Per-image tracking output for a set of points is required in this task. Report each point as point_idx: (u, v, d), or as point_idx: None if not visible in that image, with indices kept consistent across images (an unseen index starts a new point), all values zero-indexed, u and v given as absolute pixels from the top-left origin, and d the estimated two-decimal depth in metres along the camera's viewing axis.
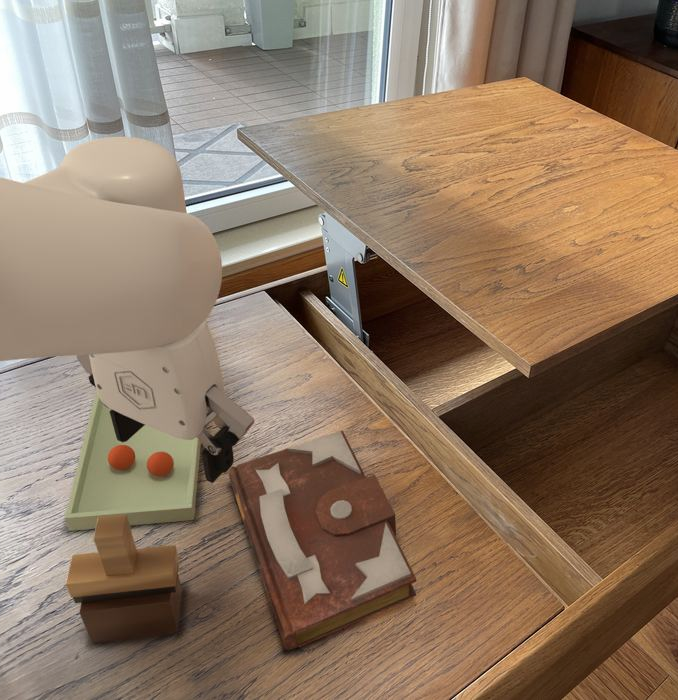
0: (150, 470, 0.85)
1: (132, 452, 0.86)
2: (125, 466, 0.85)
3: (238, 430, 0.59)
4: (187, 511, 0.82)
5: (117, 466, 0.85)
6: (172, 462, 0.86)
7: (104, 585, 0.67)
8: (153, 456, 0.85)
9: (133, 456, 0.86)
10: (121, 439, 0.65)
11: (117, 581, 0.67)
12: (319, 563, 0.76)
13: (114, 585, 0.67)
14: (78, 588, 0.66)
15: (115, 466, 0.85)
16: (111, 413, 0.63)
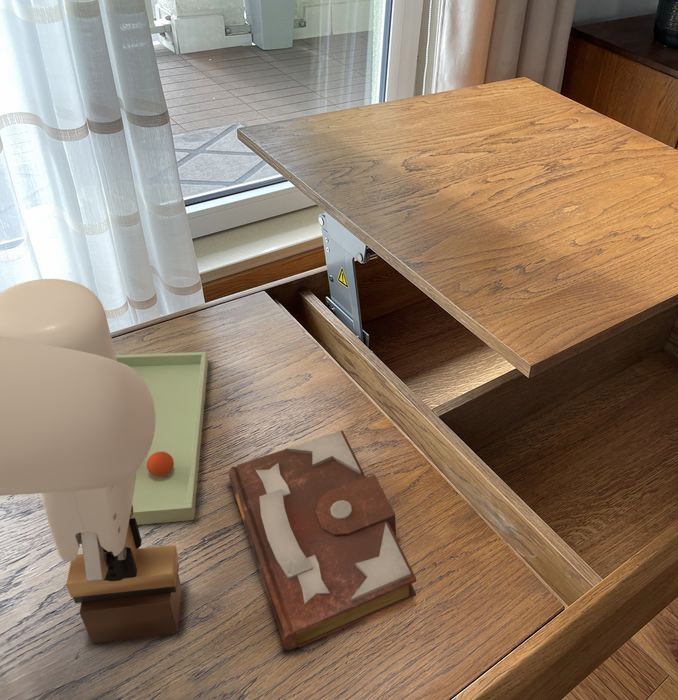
0: (150, 470, 0.85)
1: None
2: None
3: None
4: (187, 511, 0.82)
5: None
6: (172, 462, 0.86)
7: (104, 585, 0.67)
8: (153, 456, 0.85)
9: None
10: None
11: (117, 581, 0.67)
12: (319, 563, 0.76)
13: (114, 585, 0.67)
14: (78, 588, 0.66)
15: None
16: None
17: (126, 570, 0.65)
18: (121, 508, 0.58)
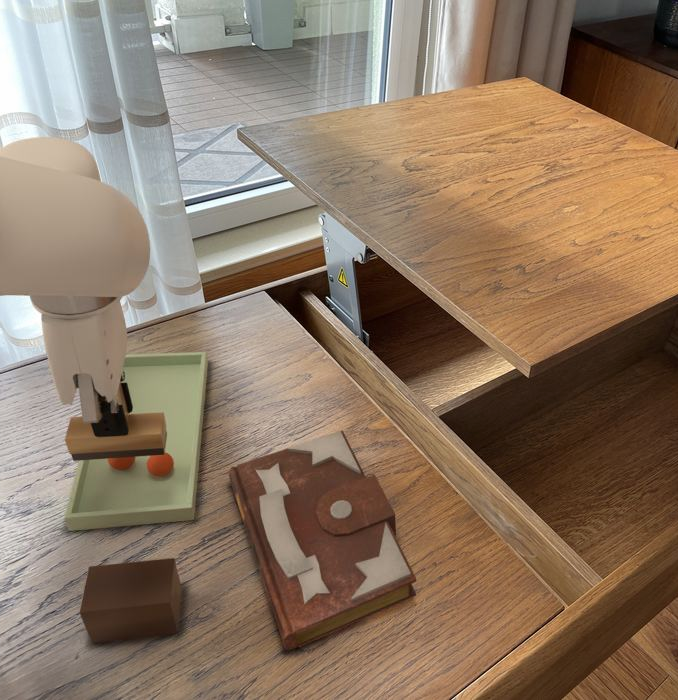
0: (150, 470, 0.85)
1: None
2: (125, 466, 0.85)
3: None
4: (187, 511, 0.82)
5: (117, 466, 0.85)
6: (172, 462, 0.86)
7: (99, 442, 0.74)
8: (153, 456, 0.85)
9: None
10: None
11: (110, 439, 0.74)
12: (319, 563, 0.76)
13: (108, 443, 0.75)
14: (76, 444, 0.74)
15: (115, 466, 0.85)
16: None
17: (119, 427, 0.73)
18: (113, 358, 0.66)
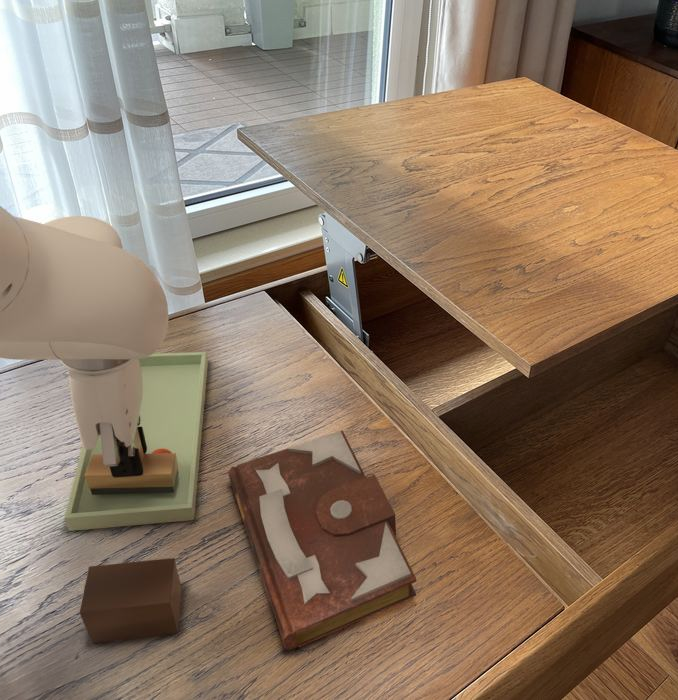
0: None
1: None
2: None
3: None
4: (187, 511, 0.82)
5: None
6: None
7: (115, 479, 0.81)
8: (155, 451, 0.86)
9: None
10: None
11: None
12: (319, 563, 0.76)
13: (123, 480, 0.81)
14: (95, 480, 0.81)
15: None
16: None
17: (134, 468, 0.80)
18: (131, 407, 0.73)
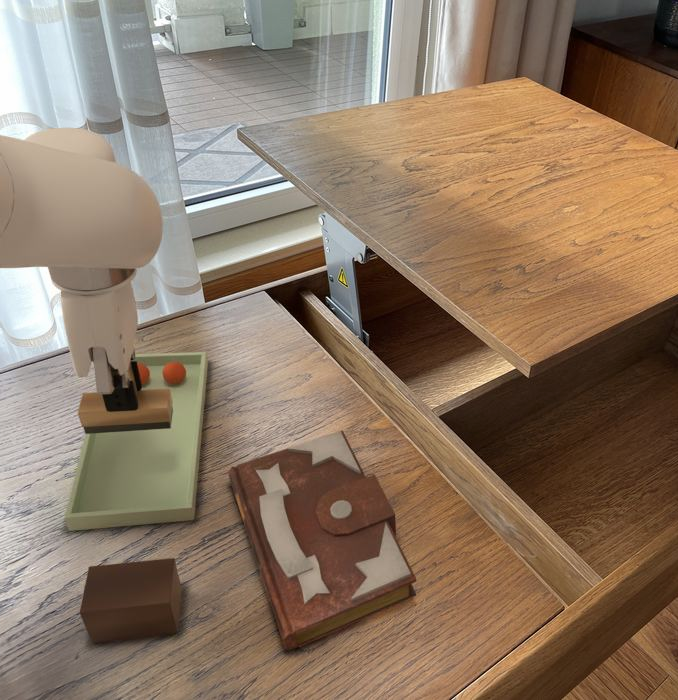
0: None
1: (148, 378, 0.97)
2: None
3: None
4: (187, 511, 0.82)
5: None
6: (185, 374, 0.98)
7: (110, 416, 0.79)
8: None
9: (149, 375, 0.97)
10: None
11: (120, 412, 0.79)
12: (319, 563, 0.76)
13: (118, 416, 0.79)
14: (88, 417, 0.79)
15: None
16: None
17: (129, 402, 0.78)
18: (125, 333, 0.71)
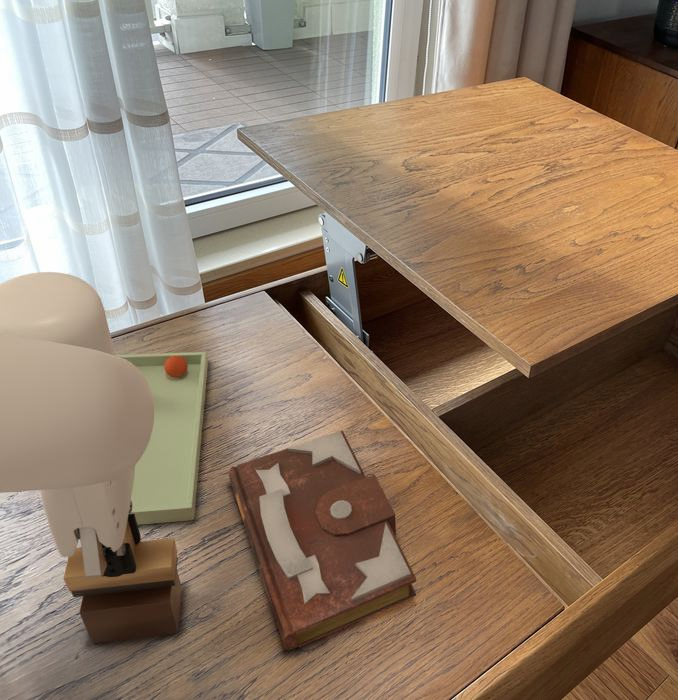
0: None
1: None
2: None
3: None
4: (187, 511, 0.82)
5: None
6: None
7: (102, 579, 0.66)
8: (170, 372, 0.97)
9: None
10: None
11: None
12: (319, 563, 0.76)
13: (112, 579, 0.66)
14: (76, 582, 0.66)
15: None
16: None
17: (125, 566, 0.65)
18: (120, 503, 0.58)
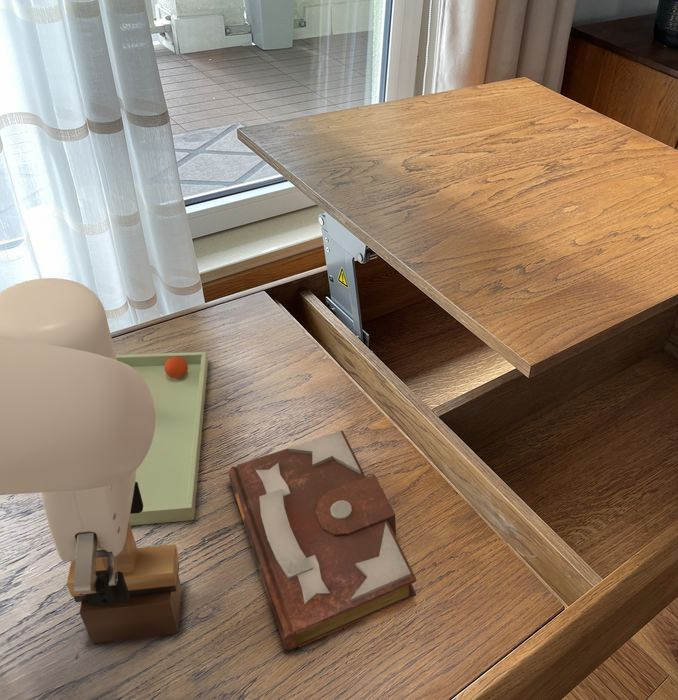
0: None
1: None
2: None
3: None
4: (187, 511, 0.82)
5: None
6: (187, 369, 0.99)
7: None
8: (171, 374, 0.97)
9: None
10: None
11: None
12: (319, 563, 0.76)
13: None
14: None
15: None
16: None
17: (118, 595, 0.62)
18: (121, 508, 0.58)
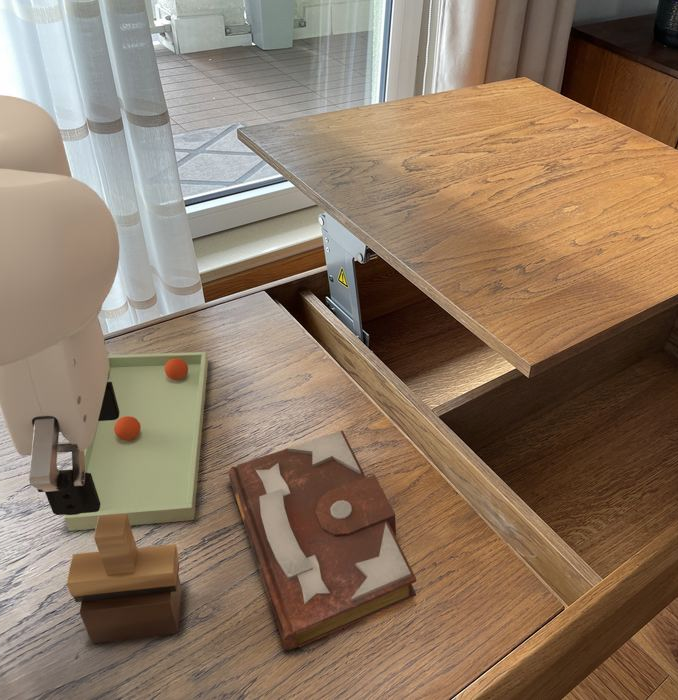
0: None
1: (139, 432, 0.90)
2: None
3: None
4: (187, 511, 0.82)
5: None
6: (187, 371, 0.99)
7: (104, 584, 0.67)
8: (171, 377, 0.97)
9: (140, 428, 0.90)
10: None
11: (117, 580, 0.67)
12: (319, 563, 0.76)
13: (114, 584, 0.67)
14: (79, 587, 0.66)
15: None
16: None
17: (86, 502, 0.54)
18: (87, 393, 0.50)
